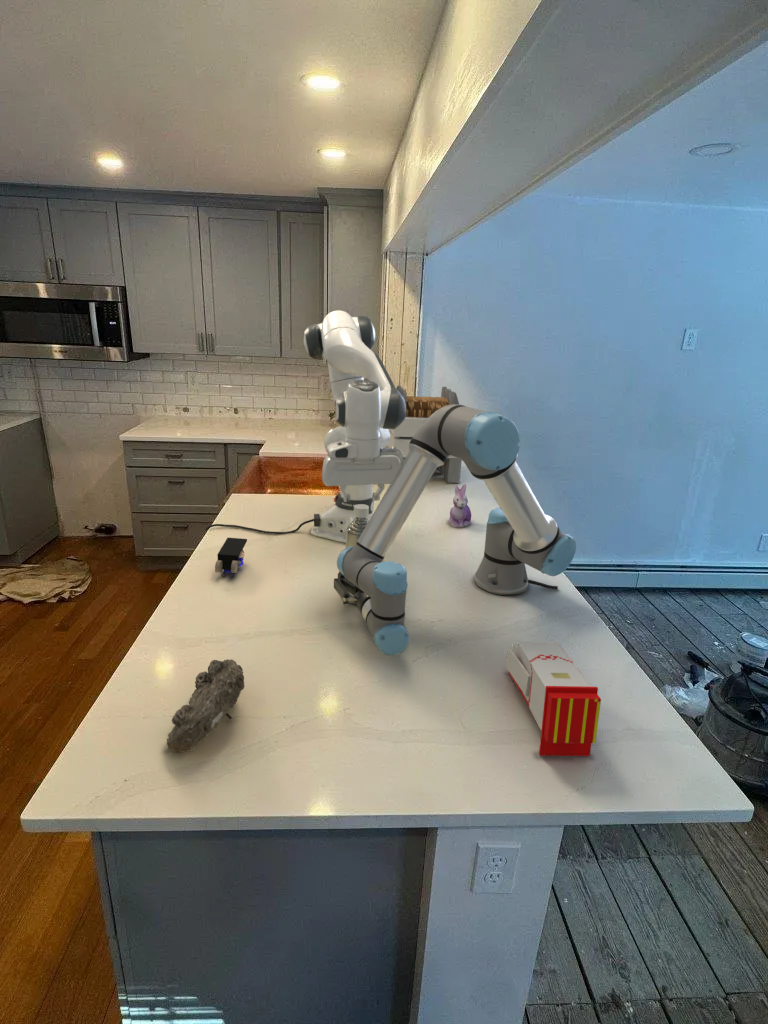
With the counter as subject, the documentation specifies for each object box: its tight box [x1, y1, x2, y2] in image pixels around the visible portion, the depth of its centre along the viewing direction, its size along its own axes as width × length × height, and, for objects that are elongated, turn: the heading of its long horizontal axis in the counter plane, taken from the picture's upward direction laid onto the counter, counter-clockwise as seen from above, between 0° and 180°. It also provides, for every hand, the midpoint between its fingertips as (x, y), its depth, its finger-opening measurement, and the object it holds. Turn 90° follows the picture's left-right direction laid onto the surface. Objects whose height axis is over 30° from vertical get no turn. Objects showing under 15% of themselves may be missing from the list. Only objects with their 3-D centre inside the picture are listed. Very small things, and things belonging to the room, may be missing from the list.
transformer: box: [386, 384, 463, 484], centre depth 268 cm, size 34×33×41 cm
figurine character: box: [214, 537, 248, 578], centre depth 166 cm, size 7×8×15 cm
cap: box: [354, 504, 369, 518], centre depth 147 cm, size 4×4×2 cm
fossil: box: [166, 658, 245, 754], centre depth 106 cm, size 22×10×15 cm
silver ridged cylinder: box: [345, 517, 369, 605], centre depth 151 cm, size 8×8×26 cm
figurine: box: [448, 483, 472, 528], centre depth 209 cm, size 9×10×15 cm
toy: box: [505, 641, 602, 757], centre depth 113 cm, size 12×13×30 cm
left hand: (361, 500), depth 146 cm, fingers open, 6 cm apart
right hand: (355, 568), depth 157 cm, fingers closed on silver ridged cylinder, 8 cm apart
